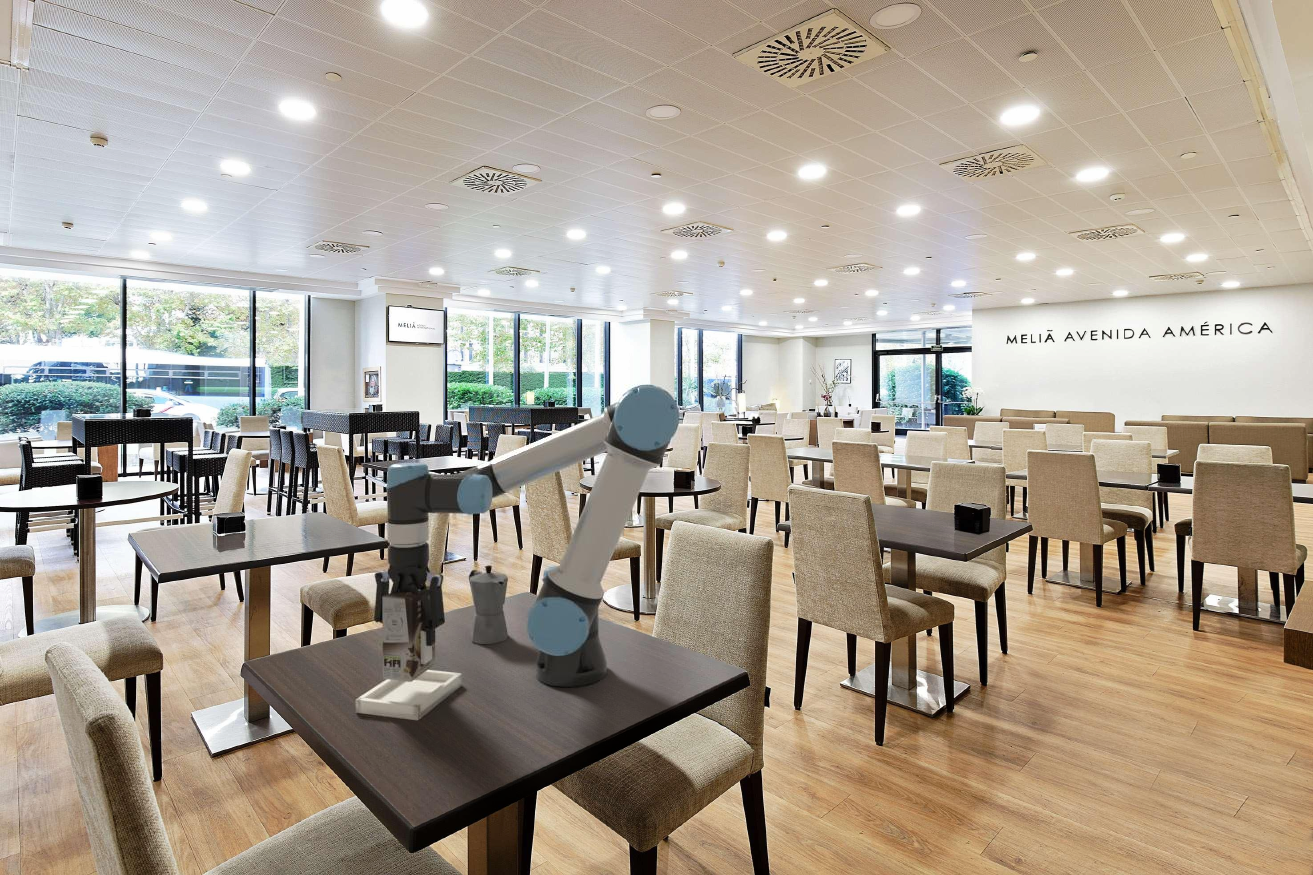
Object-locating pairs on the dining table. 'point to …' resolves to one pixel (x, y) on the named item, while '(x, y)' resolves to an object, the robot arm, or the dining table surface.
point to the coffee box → (403, 636)
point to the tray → (409, 695)
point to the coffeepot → (488, 606)
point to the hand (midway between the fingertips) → (410, 659)
